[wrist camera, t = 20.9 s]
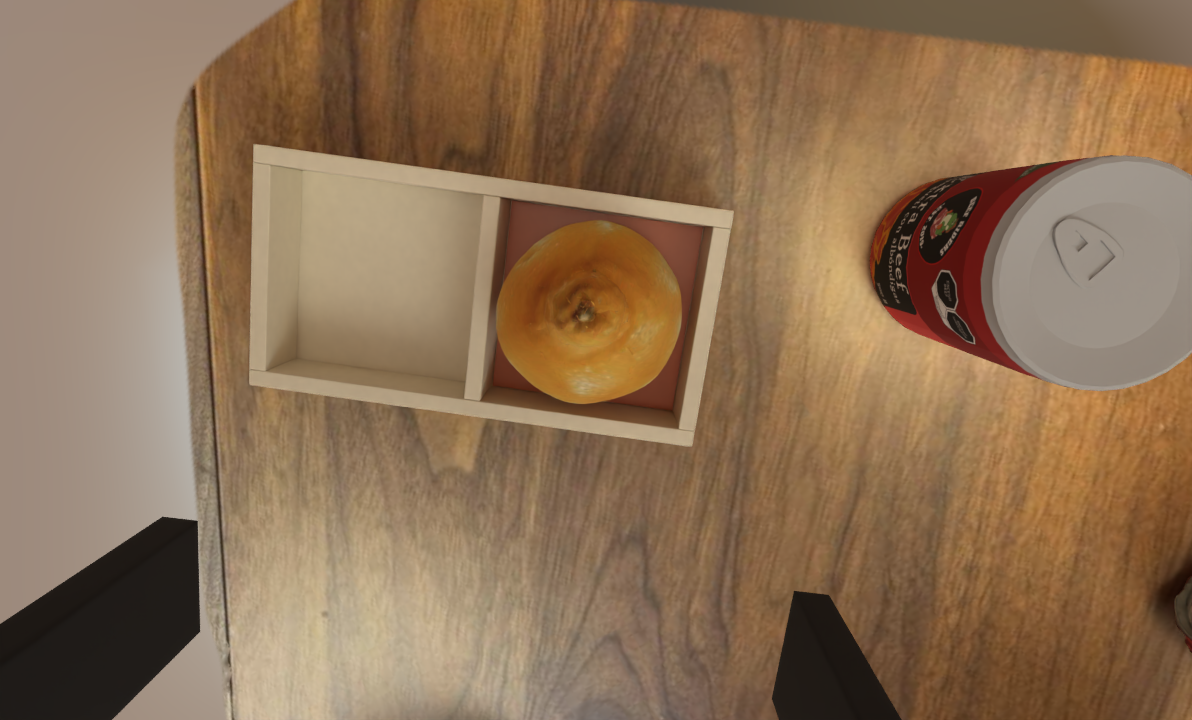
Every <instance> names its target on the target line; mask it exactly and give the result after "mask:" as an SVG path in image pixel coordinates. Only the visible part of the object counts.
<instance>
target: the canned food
mask: <svg viewBox="0 0 1192 720" xmlns="http://www.w3.org/2000/svg"><path fill="white" fill-rule="evenodd" d="M870 271H871V278H872V281H873V285H874V288H875V290H876V292H877V294H878V296H879V298H880V300H881V302H882V304H883V305H884V307H885V308H886V309H887V310H888V312H889V313H890V314H891V315H892V317H893V318H894V319H896V320H897V321H898V322H899V323H901V324H902V325H903V326H904V327H906V328H908V329H910V330H912V331H914V332H916V333H918V334H920V335H922V336H925V337H928V338H930V339H933V340H936V341H938V342H941V343H944V344H946V345H949V346H952V347H954V348H957V349H959V350H962V351H965V352H967V353H970V354H973V355H975V356H978V357H981V358H983V359H986V360H989V361H991V362H994V363H997V364H999V365H1002V366H1004V367H1007V368H1010V369H1012V370H1015V371H1018V372H1020V373H1023V374H1026V375H1029V376H1033V377H1036V378H1038V379H1041V380H1044V381H1047V382H1050V383H1054V384H1058V385H1061V386H1065V387H1072V388H1075V389H1081V390H1093V391H1106V390H1115V389H1124V388H1127V387H1131V386H1134V385H1138V384H1141V383H1145V382H1147V381H1149V380H1151V379H1153V378H1155V377H1157V376H1159V375H1162V374H1164V373H1166V372H1168V371H1169V370H1170V369H1172V368H1173V367H1174V366H1176V365H1177V364H1179V363H1180V362H1181V361H1183V360H1184V359H1186V358H1187V357H1188V356H1189V355H1190V354H1191V353H1192V175H1190V174H1188V173H1186V172H1185V171H1183V170H1181V169H1179V168H1177V167H1176V166H1174V165H1172V164H1169V163H1166V162H1162V161H1159V160H1155V159H1152V158H1148V157H1135V156H1113V155H1110V156H1102V157H1094V158H1083V159H1075V160H1067V161H1059V162H1053V163H1046V164H1039V165H1032V166H1025V167H1018V168H1011V169H1005V170H998V171H991V172H984V173H977V174H970V175H963V176H957V177H950V178H943V179H939V180H936V181H933V182H929V183H926V184H924V185H922V186H920V187H919V188H917V189H915V190H913V191H911V192H910V193H908V194H907V195H906V196H905V197H904V198H902V199H901V200H900V201H899V202H898V203H897V204H896V205H895V206H894V207H893V208H892V209H891V210H890V211H889V213H888V214H887V215H886V216H885V217H884V219H883V220H882V222H881V224H880V226H879V228H878V230H877V231H876V234H875V237H874V240H873V243H872V246H871V255H870Z"/></svg>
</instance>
